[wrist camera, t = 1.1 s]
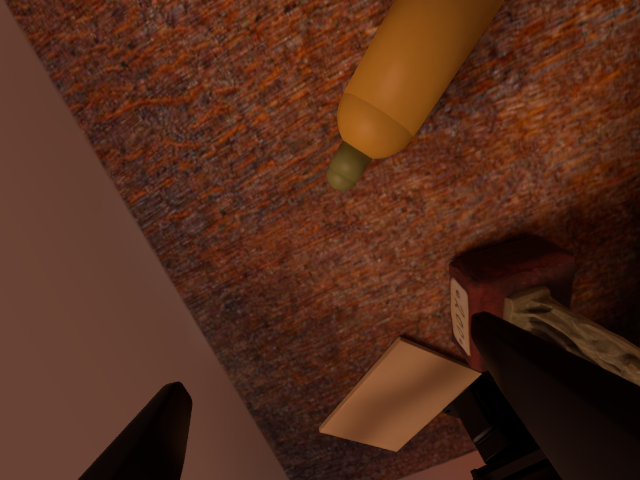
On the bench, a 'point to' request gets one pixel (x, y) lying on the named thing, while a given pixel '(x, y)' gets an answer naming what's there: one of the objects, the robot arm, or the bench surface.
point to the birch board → (399, 396)
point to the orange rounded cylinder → (403, 79)
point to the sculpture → (532, 303)
